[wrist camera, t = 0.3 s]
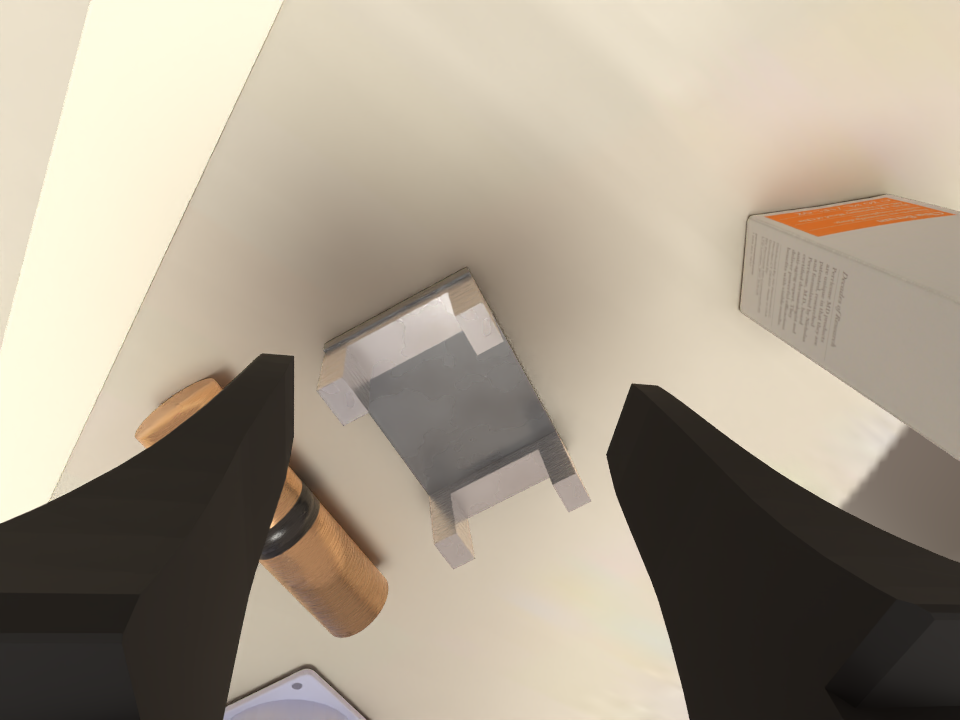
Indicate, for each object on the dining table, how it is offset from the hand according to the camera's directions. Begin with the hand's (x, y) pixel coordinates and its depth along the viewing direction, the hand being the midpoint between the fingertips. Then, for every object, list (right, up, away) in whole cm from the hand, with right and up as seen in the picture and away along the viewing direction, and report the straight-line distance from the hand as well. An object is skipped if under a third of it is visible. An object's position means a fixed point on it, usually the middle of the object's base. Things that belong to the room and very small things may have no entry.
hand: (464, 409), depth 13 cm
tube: (-8, -5, +13) cm, 16 cm away
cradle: (-1, -1, +12) cm, 12 cm away
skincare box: (+14, +5, +12) cm, 19 cm away
